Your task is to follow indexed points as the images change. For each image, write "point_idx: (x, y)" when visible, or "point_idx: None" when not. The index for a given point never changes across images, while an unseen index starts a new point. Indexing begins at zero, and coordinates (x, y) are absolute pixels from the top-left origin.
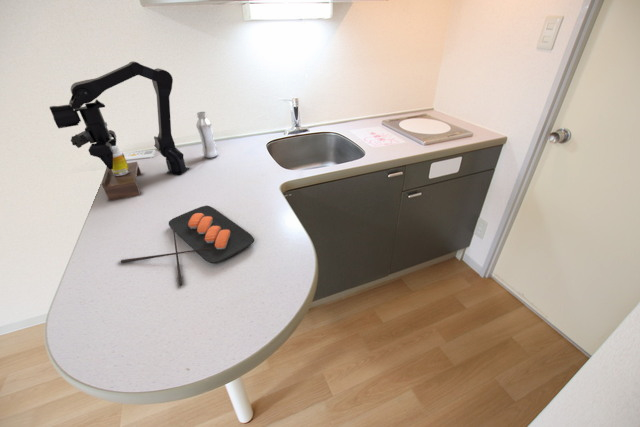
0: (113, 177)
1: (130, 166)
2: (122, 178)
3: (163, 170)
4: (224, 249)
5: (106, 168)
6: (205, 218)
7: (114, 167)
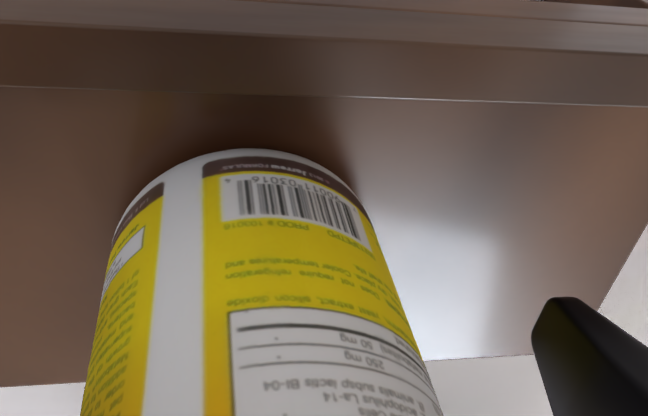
0: (115, 132)
1: (460, 308)
2: (2, 261)
3: (430, 375)
4: None
5: (513, 56)
6: None
7: (95, 348)
